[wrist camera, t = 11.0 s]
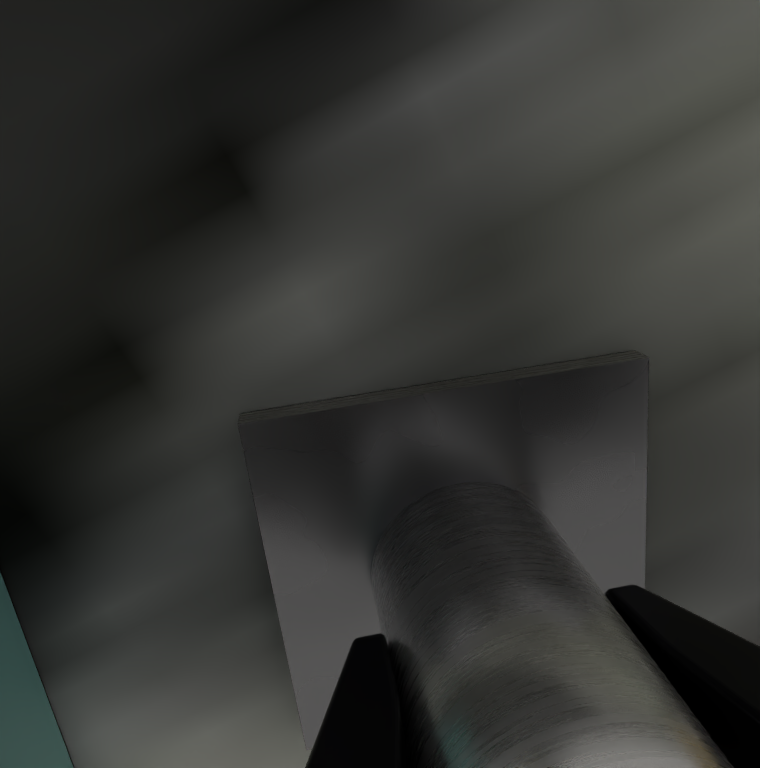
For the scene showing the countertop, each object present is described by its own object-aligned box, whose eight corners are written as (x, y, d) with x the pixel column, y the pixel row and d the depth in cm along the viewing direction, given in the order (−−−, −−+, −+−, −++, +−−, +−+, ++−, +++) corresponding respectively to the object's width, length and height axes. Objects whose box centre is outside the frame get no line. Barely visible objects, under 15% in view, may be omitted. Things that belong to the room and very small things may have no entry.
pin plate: (239, 413, 9) (237, 424, 9) (634, 350, 10) (649, 357, 9) (306, 730, 11) (306, 750, 11) (632, 663, 12) (643, 679, 11)
